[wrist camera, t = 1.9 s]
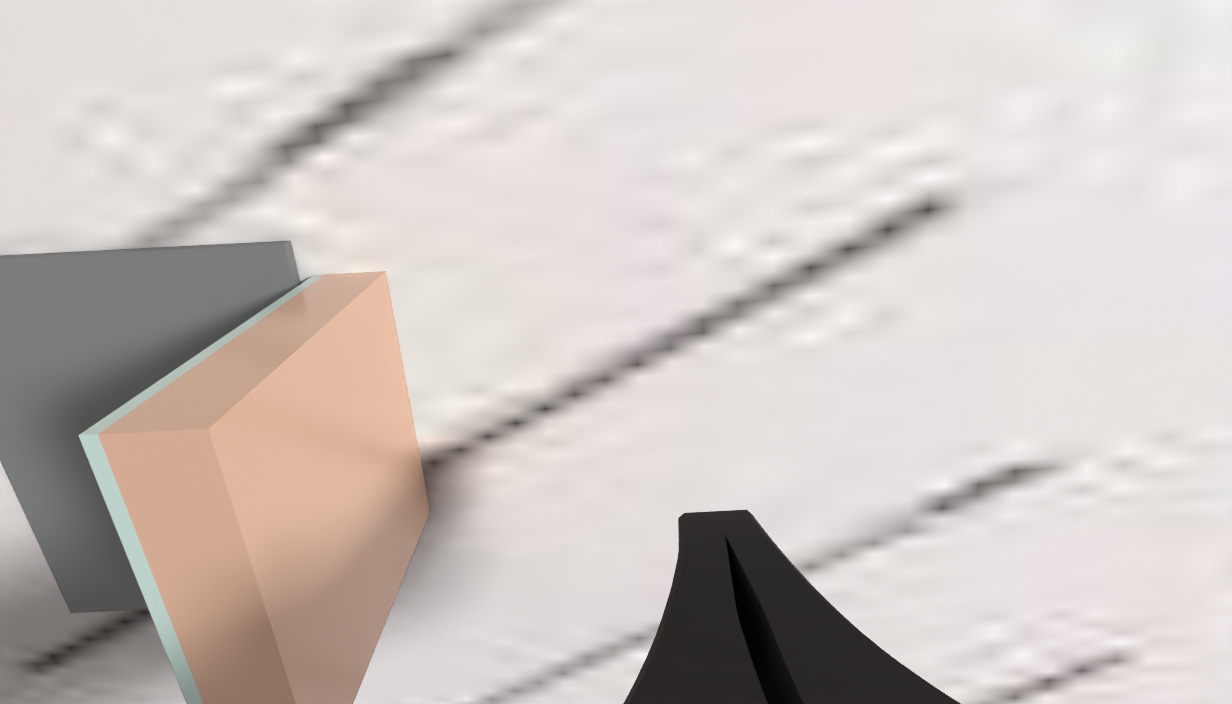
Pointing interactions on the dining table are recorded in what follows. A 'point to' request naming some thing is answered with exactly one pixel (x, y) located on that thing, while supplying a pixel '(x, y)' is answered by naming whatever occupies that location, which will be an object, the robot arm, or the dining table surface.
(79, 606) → the mat
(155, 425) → the peach green flat block
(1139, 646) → the dining table surface
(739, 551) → the robot arm
